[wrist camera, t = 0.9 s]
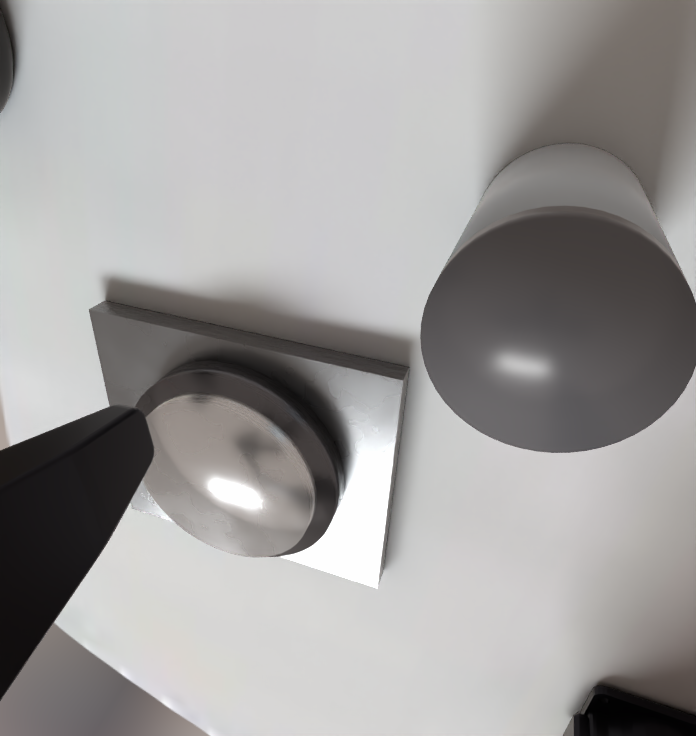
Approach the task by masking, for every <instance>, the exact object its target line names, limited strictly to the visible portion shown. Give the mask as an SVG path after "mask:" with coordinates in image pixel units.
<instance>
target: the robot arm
mask: <svg viewBox="0 0 696 736" xmlns="http://www.w3.org/2000/svg"><path fill="white" fill-rule="evenodd" d="M153 457H154V444H153V441H152V437H151V434H150V430H149V427H148V423H147V420H146V416H145V414H144V412H143V411H142V410H141V409H139V408H137V407H132V406H127V405H121V404H117V405H112V406H110V407H107V408H105V409H102V410H100V411H97V412H95V413H92V414H90V415H87V416H85V417H82V418H80V419H78V420H75V421H73V422H70V423H68V424H65V425H63V426H60V427H58V428H55V429H53V430H50V431H48V432H45V433H43V434H40V435H38V436H35V437H33V438H30V439H28V440H25V441H23V442H20V443H18V444H15V445H13V446H10V447H8V448H5V449H3V450H0V701H1V699H2V698H3V696H4V695H5V693H6V692H7V690H8V689H9V688H10V686H11V684H12V683H13V682H14V680H15V679H16V677H17V676H18V674H19V673H20V671H21V670H22V668H23V667H24V666H25V664H26V663H27V661H28V659H29V658H30V657H31V655H32V654H33V652H34V651H35V649H36V648H37V646H38V645H39V643H40V642H41V641H42V639H43V638H44V636H45V635H46V633H47V632H48V630H49V629H50V627H51V626H52V624H53V623H54V621H55V620H56V619H57V617H58V616H59V614H60V613H61V611H62V610H63V608H64V607H65V605H66V604H67V602H68V601H69V599H70V598H71V597H72V595H73V594H74V592H75V591H76V589H77V588H78V586H79V585H80V583H81V582H82V580H83V579H84V577H85V576H86V574H87V573H88V572H89V570H90V569H91V567H92V566H93V564H94V563H95V561H96V560H97V558H98V557H99V555H100V554H101V552H102V551H103V549H104V548H105V546H106V544H107V543H108V541H109V539H110V538H111V536H112V534H113V532H114V531H115V529H116V527H117V525H118V524H119V522H120V520H121V518H122V516H123V514H124V513H125V511H126V509H127V507H128V505H129V503H130V502H131V500H132V498H133V496H134V494H135V493H136V491H137V489H138V487H139V485H140V483H141V482H142V480H143V478H144V476H145V474H146V472H147V471H148V469H149V467H150V465H151V463H152V461H153ZM563 736H696V717H695V716H692V715H689V714H686V713H683V712H680V711H677V710H674V709H671V708H668V707H665V706H662V705H659V704H656V703H653V702H650V701H647V700H645V699H642V698H639V697H636V696H633V695H630V694H627V693H624V692H621V691H618V690H615V689H612V688H609V687H605V686H596V687H594V688H593V689H592V691H591V693H590V695H589V697H588V699H587V701H586V702H585V704H584V706H583V708H582V710H581V712H580V713H579V712H578V713H576V714H575V715H573V717H572V719H571V721H570V723H569V725H568V727H567V729H566V730H565V732H564V734H563Z"/></svg>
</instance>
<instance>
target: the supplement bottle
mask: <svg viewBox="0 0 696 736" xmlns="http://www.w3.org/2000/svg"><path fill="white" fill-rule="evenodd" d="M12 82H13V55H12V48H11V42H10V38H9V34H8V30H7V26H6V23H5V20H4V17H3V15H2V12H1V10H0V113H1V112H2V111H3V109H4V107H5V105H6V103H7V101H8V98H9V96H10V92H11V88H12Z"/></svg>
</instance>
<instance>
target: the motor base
mask: <svg viewBox="0 0 696 736" xmlns="http://www.w3.org/2000/svg"><path fill="white" fill-rule="evenodd" d="M89 312H90V317H91V322H92V326H93V331H94V336H95V340H96V345H97V350H98V354H99V359H100V363H101V368H102V373H103V377H104V382H105V387H106V391H107V396H108V401H109V405H110V406H112V405H117V404H121V405H127V406H132V407H137V408H139V409H141V410H142V411H143V412H144V414H145V416H146V420H147V423H148V427H149V430H150V434H151V437H152V441H153V444H154V457H153V461H152V463H151V465H150V467H149V469H148V471H147V472H146V474H145V476H144V478H143V480H142V482H141V483H140V485H139V487H138V489H137V491H136V493H135V494H134V496H133V498H132V500H131V502H130V503H131V507H132V509H136V510H139V511H142V512H145V513H148V514H151V515H154V516H157V517H160V518H163V519H166V520H169V521H172V522H175V523H176V524H177V525H179V526H180V527H181V528H182V529H184V530H185V531H186V532H188V533H189V534H191V535H192V536H194V537H195V538H197V539H199V540H201V541H202V542H204V543H206V544H208V545H210V546H212V547H214V548H217V549H220V550H222V551H225V552H228V553H232V554H235V555H241V556H246V557H278V556H280V557H283V558H286V559H289V560H292V561H295V562H298V563H301V564H304V565H307V566H310V567H313V568H316V569H319V570H323V571H326V572H329V573H332V574H335V575H338V576H341V577H344V578H347V579H350V580H353V581H356V582H359V583H362V584H365V585H368V586H372V587H375V588H378V585H379V582H380V579H381V576H382V574H383V568H384V561H385V553H386V545H387V537H388V530H389V522H390V514H391V507H392V499H393V491H394V483H395V476H396V468H397V460H398V452H399V445H400V437H401V429H402V421H403V414H404V406H405V398H406V390H407V383H408V375H409V367H405V366H401V365H396V364H392V363H387V362H383V361H378V360H373V359H369V358H364V357H360V356H355V355H351V354H346V353H341V352H337V351H332V350H328V349H323V348H319V347H314V346H309V345H305V344H300V343H296V342H291V341H287V340H282V339H277V338H273V337H268V336H264V335H259V334H255V333H250V332H245V331H241V330H236V329H232V328H227V327H223V326H218V325H213V324H209V323H204V322H200V321H195V320H191V319H186V318H181V317H177V316H172V315H168V314H163V313H159V312H154V311H149V310H145V309H140V308H136V307H131V306H127V305H122V304H117V303H113V302H108V301H103V302H102V303H100V304H98V305H96V306H94V307H93V308H91V309H89Z"/></svg>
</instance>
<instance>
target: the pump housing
mask: <svg viewBox="0 0 696 736" xmlns="http://www.w3.org/2000/svg"><path fill="white" fill-rule="evenodd" d="M421 349H422V355H423V359H424V363H425V367H426V369H427V372H428V375H429V377H430V379H431V381H432V383H433V385H434V387H435V389H436V390H437V392H438V393H439V395H440V396H441V397H442V399H443V400H444V402H445V403H446V404H447V405H448V406H449V407H450V408H451V409H452V410H453V411H454V413H456V414H457V415H458V416H459V417H460V418H461V419H463V420H464V421H465V422H466V423H468V424H469V425H470V426H472V427H473V428H475V429H476V430H478V431H480V432H481V433H483V434H485V435H487V436H489V437H491V438H493V439H495V440H498V441H500V442H503V443H505V444H508V445H512V446H515V447H519V448H523V449H528V450H533V451H540V452H551V453H570V452H579V451H587V450H592V449H596V448H601V447H605V446H608V445H611V444H614V443H617V442H620V441H622V440H624V439H626V438H628V437H631V436H633V435H635V434H637V433H638V432H640V431H642V430H643V429H645V428H647V427H648V426H650V425H651V424H652V423H654V422H655V421H656V420H657V419H659V418H660V417H661V416H662V415H663V414H664V413H665V412H666V411H667V410H668V409H669V408H670V407H671V406H672V405H673V404H674V403H675V402H676V401H677V399H678V398H679V397H680V395H681V394H682V393H683V391H684V390H685V388H686V386H687V384H688V382H689V380H690V379H691V377H692V374H693V372H694V369H695V366H696V302H695V299H694V296H693V294H692V291H691V289H690V287H689V285H688V283H687V281H686V279H685V277H684V274H683V272H682V270H681V268H680V266H679V264H678V262H677V260H676V258H675V255H674V253H673V251H672V249H671V247H670V245H669V243H668V241H667V239H666V236H665V234H664V232H663V230H662V228H661V226H660V224H659V222H658V219H657V217H656V215H655V213H654V211H653V209H652V207H651V205H650V203H649V200H648V198H647V196H646V194H645V192H644V190H643V188H642V186H641V184H640V182H639V180H638V179H637V177H636V176H635V174H634V173H633V172H632V171H631V169H630V168H629V167H628V166H627V165H626V164H625V163H624V162H622V161H621V160H620V159H618V158H617V157H615V156H614V155H612V154H610V153H608V152H606V151H604V150H602V149H599V148H596V147H593V146H590V145H584V144H576V143H563V144H553V145H549V146H544V147H541V148H538V149H535V150H532V151H530V152H528V153H526V154H524V155H522V156H520V157H519V158H517V159H516V160H514V161H513V162H511V163H510V164H509V165H507V166H506V167H505V168H504V169H503V170H502V171H501V172H500V173H499V174H498V175H497V176H496V177H495V178H494V179H493V181H492V182H491V184H490V185H489V186H488V188H487V190H486V191H485V193H484V195H483V197H482V199H481V201H480V202H479V204H478V206H477V208H476V210H475V212H474V213H473V215H472V217H471V219H470V221H469V223H468V224H467V226H466V228H465V230H464V232H463V234H462V235H461V237H460V239H459V241H458V243H457V245H456V247H455V248H454V250H453V252H452V254H451V256H450V258H449V259H448V261H447V263H446V265H445V267H444V269H443V270H442V272H441V274H440V276H439V278H438V280H437V281H436V283H435V285H434V287H433V289H432V291H431V292H430V294H429V297H428V300H427V303H426V305H425V308H424V313H423V317H422V322H421Z"/></svg>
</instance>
